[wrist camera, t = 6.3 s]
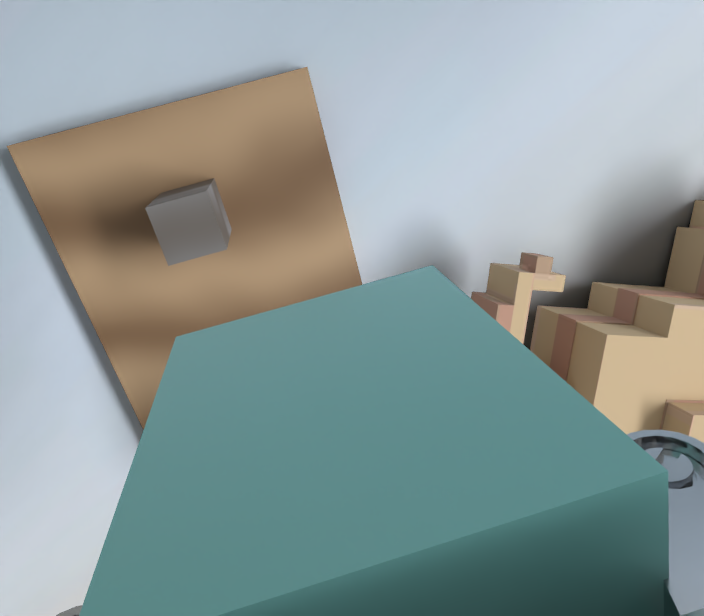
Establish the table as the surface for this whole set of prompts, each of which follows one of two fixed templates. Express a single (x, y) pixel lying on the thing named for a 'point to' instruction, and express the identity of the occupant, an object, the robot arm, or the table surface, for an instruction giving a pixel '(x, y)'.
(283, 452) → the teal block
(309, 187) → the stand
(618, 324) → the toy
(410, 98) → the table surface
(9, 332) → the table surface
